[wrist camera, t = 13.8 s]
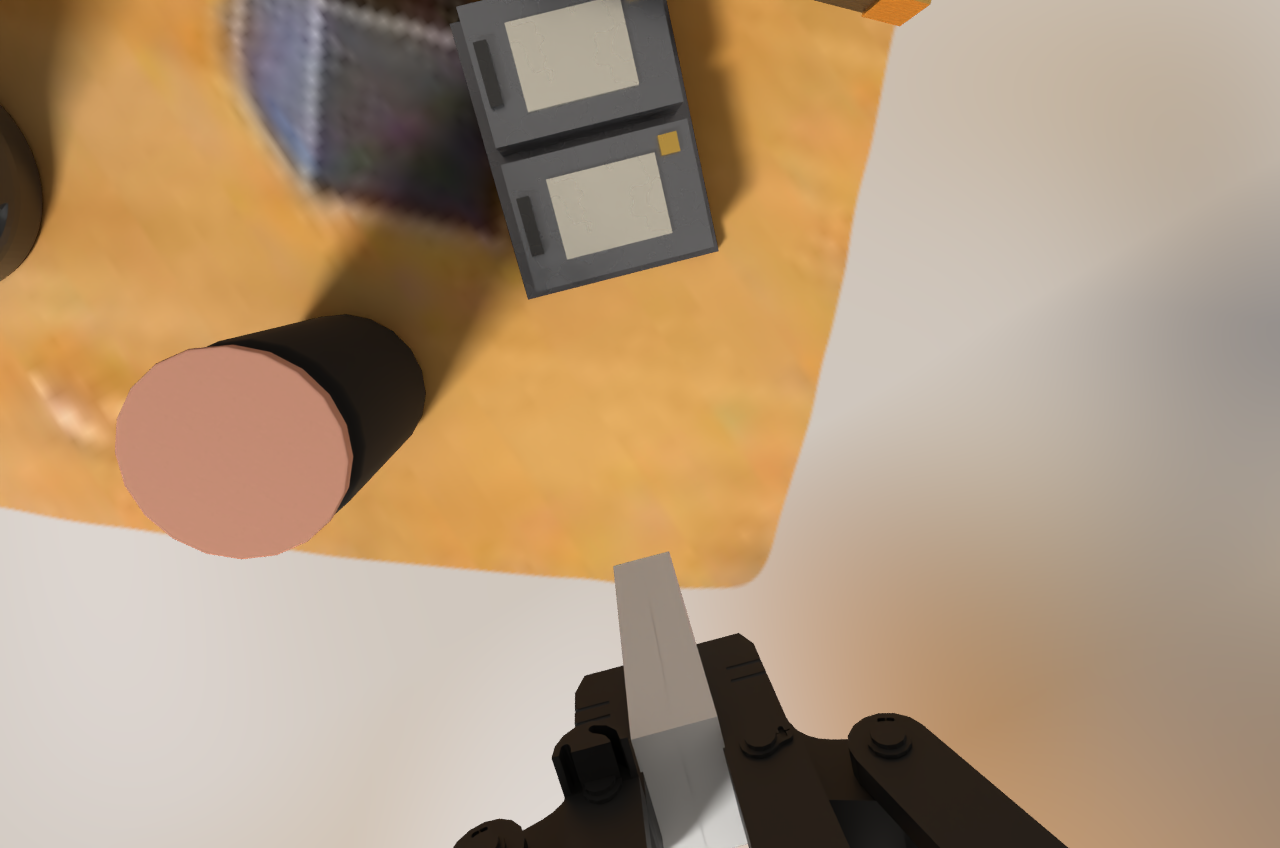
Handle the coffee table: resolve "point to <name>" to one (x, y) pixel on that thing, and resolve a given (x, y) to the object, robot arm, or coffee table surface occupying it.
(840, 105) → the coffee table surface
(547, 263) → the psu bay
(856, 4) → the swing arm
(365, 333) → the coffee jar
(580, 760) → the robot arm
